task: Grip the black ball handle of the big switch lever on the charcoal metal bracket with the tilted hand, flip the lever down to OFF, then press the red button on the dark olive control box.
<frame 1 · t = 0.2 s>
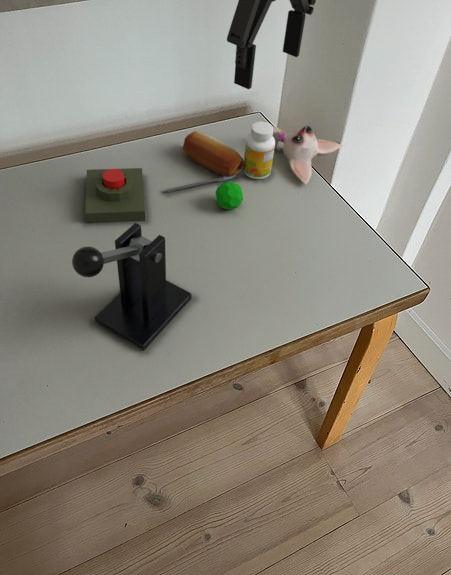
hand: (267, 69, 90), 23 cm above the table, tool pointing down, fingers open, 13 cm apart
lever: (115, 255, 72), point 16 cm above the table, hinge at 30.0°
hot dog: (202, 161, 109), point 2 cm above the table
control box: (115, 199, 103), on the table
pen: (202, 185, 107), on the table
supplement bottle: (256, 172, 111), on the table
toy dog: (261, 123, 114), point 4 cm above the table
polyhedron: (228, 206, 104), on the table
button: (113, 179, 100), point 4 cm above the table, slide at 0.1 cm
switch bracket: (144, 310, 87), on the table
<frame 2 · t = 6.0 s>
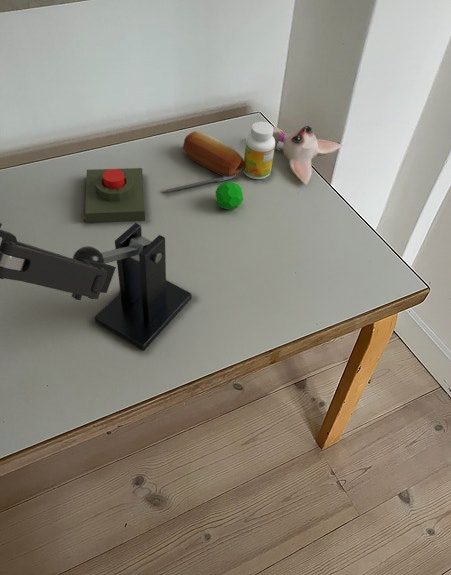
hand: (50, 256, 58), 25 cm above the table, tool tilted 40°, fingers open, 13 cm apart
nothing on the table moved.
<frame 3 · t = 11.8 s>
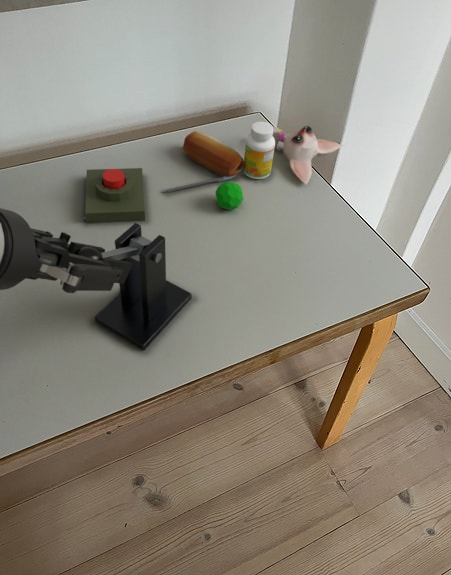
hand: (112, 265, 72), 15 cm above the table, tool tilted 45°, fingers closed on lever, 4 cm apart
lever: (115, 255, 72), point 16 cm above the table, hinge at 30.0°, touching gripper
everything else where it was.
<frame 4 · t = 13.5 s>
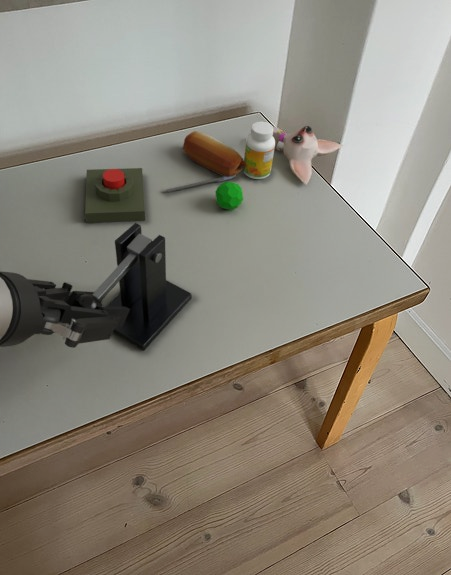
hand: (111, 309, 77), 7 cm above the table, tool tilted 45°, fingers closed on lever, 4 cm apart
lever: (114, 278, 74), point 12 cm above the table, hinge at -9.3°, touching gripper
everything else where it was.
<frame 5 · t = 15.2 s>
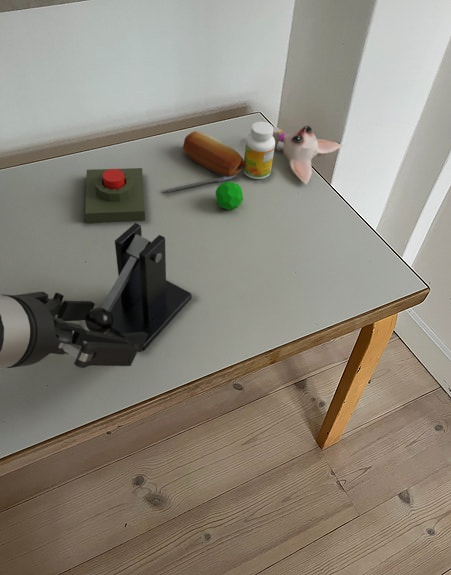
hand: (115, 325, 81), 3 cm above the table, tool tilted 45°, fingers open, 9 cm apart
lever: (119, 285, 76), point 10 cm above the table, hinge at -32.5°
everything else where it was.
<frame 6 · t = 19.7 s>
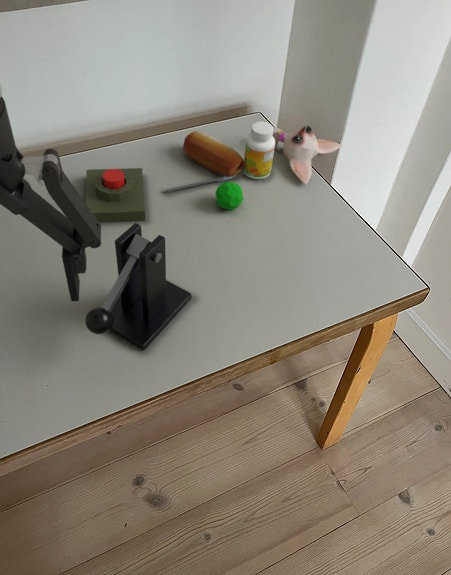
hand: (12, 295, 58), 22 cm above the table, tool pointing down, fingers open, 12 cm apart
nothing on the table moved.
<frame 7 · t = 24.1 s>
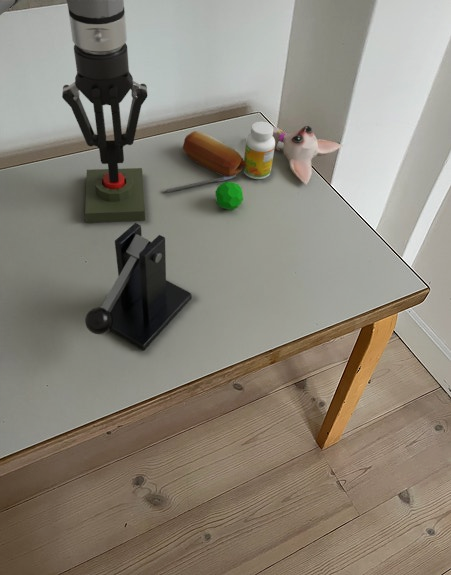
hand: (114, 177, 99), 5 cm above the table, tool pointing down, fingers closed
button: (114, 182, 100), point 4 cm above the table, slide at -0.5 cm, touching gripper
everything else where it was.
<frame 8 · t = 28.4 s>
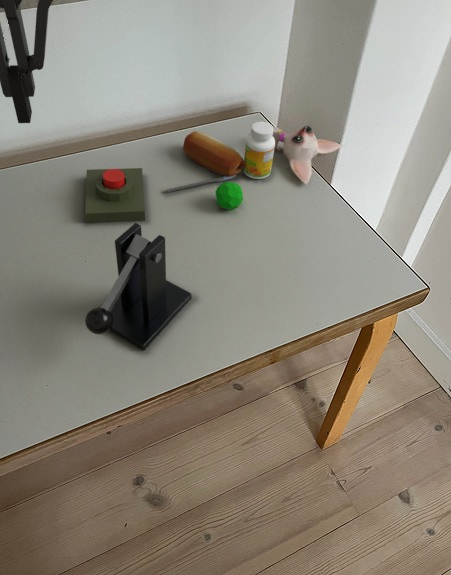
hand: (25, 117, 75), 24 cm above the table, tool pointing down, fingers closed
button: (113, 179, 100), point 4 cm above the table, slide at 0.1 cm
everything else where it was.
at the end: lever at -32° (first picture: +30°); button pushed in 1.0 cm at the most during the clip, back to where it started at the end; button slide at 0.1 cm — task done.
